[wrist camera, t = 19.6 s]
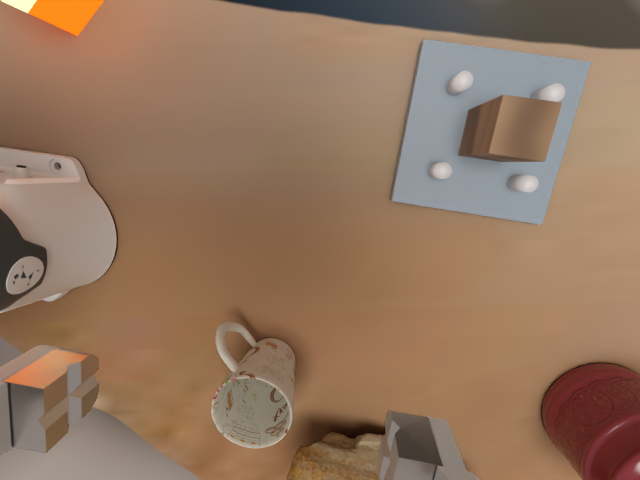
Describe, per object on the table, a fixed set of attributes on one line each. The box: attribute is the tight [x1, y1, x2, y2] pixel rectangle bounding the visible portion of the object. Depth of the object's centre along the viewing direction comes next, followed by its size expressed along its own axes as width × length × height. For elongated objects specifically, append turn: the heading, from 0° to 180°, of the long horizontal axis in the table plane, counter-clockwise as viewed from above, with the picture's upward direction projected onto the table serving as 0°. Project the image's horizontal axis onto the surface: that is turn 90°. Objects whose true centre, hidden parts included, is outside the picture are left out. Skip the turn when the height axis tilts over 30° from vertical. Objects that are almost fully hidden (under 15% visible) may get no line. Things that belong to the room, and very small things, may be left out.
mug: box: [211, 322, 295, 448], centre depth 39 cm, size 8×13×10 cm, turn 36°
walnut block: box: [458, 94, 562, 162], centre depth 31 cm, size 4×4×8 cm
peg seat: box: [390, 39, 591, 225], centre depth 34 cm, size 16×16×4 cm
